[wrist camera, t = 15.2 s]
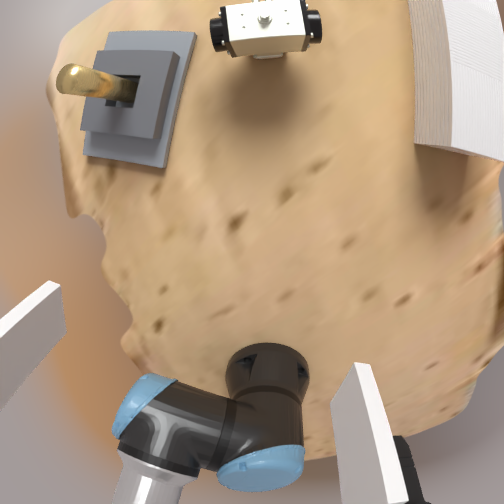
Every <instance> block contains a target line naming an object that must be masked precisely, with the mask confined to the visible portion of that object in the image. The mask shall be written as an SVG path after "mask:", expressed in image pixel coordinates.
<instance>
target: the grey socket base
mask: <svg viewBox="0 0 504 504" xmlns="http://www.w3.org/2000/svg"><path fill="white" fill-rule="evenodd" d="M196 38H197V35H196V34H195V32H181V31H119V32H109V35H108V38H107V42H106V45H105V48H104V51H97V54H96V58H95V62H94V65H93V69H94V70H98V71H101V72H105V73H108V74H111V75H115V76H118V77H121V78H124V79H127V80H130V81H133V82H136V83H138V84H139V85H138V89H137V93H136V98H135V102H134V103H125V102H119V101H113V100H107V99H101V98H94V97H87V96H86V100H85V105H84V110H83V116H82V122H81V128H80V130H83V131H86V135H85V141H84V149H83V155H88V156H94V157H101V158H108V159H114V160H120V161H126V162H132V163H138V164H143V165H149V166H154V167H160V168H164V167H166V165H167V160H168V154H169V149H170V144H171V139H172V134H173V129H174V124H175V119H176V115H177V110H178V106H179V102H180V98H181V93H182V89H183V85H184V81H185V77H186V74H187V70H188V66H189V62H190V59H191V55H192V52H193V48H194V45H195V41H196Z"/></svg>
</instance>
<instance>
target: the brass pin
mask: <svg viewBox="0 0 504 504" xmlns="http://www.w3.org/2000/svg"><path fill="white" fill-rule="evenodd" d="M138 85H139V84H138V83H136V82H133V81H130V80H127V79H124V78H121V77H118V76H115V75H111V74H108V73H105V72H101V71H98V70H94V69H91V68H87V67H83V66H80V65H76V64H68V65H66V66H64V67H63V68H62V69H61V71H60V72H59V74H58V76H57V80H56V87H57V90H58V91H59V92H60V93H62V94H71V95H79V96H87V97H94V98H101V99H107V100H113V101H119V102H125V103H134V102H135V98H136V93H137V89H138Z"/></svg>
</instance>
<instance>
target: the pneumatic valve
mask: <svg viewBox="0 0 504 504" xmlns="http://www.w3.org/2000/svg"><path fill="white" fill-rule="evenodd" d="M307 9H308V5H307V4H306V2H305V0H279V1H273V0H265V2H260V1H259V0H252V3H245V4H238V5H230V6H224V7H220V11H221V12H219V16H221V17H219V18H213V19H211V20H210V33H211V39H212V43H213V47H214V49H215V51H216V52H222V51H227V53H228V55H230V54H231V56H232V58H233V57H240V56H249V55H253V58H257V59H267V58H280V57H281V56H283V52H301V51H306V50H307V48H309V47H310V46H309V44H318V43H321V40H322V24H321V18H320V15H319V12H318V11H317V10H307Z"/></svg>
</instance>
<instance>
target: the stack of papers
mask: <svg viewBox="0 0 504 504" xmlns="http://www.w3.org/2000/svg"><path fill="white" fill-rule="evenodd" d="M408 6H409V13H410V21H411V30H412V40H413V53H414V72H415V127H414V143H415V144H420V145H425V146H430V147H435V148H439V149H444V150H448V151H452V152H457V153H461V154H465V155H468V156H474V157H480V158H485V159H490V160H495V161H500V162H504V33H503V28H502V23H501V19H500V15H499V10H498V7H497V3H496V0H408Z"/></svg>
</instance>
